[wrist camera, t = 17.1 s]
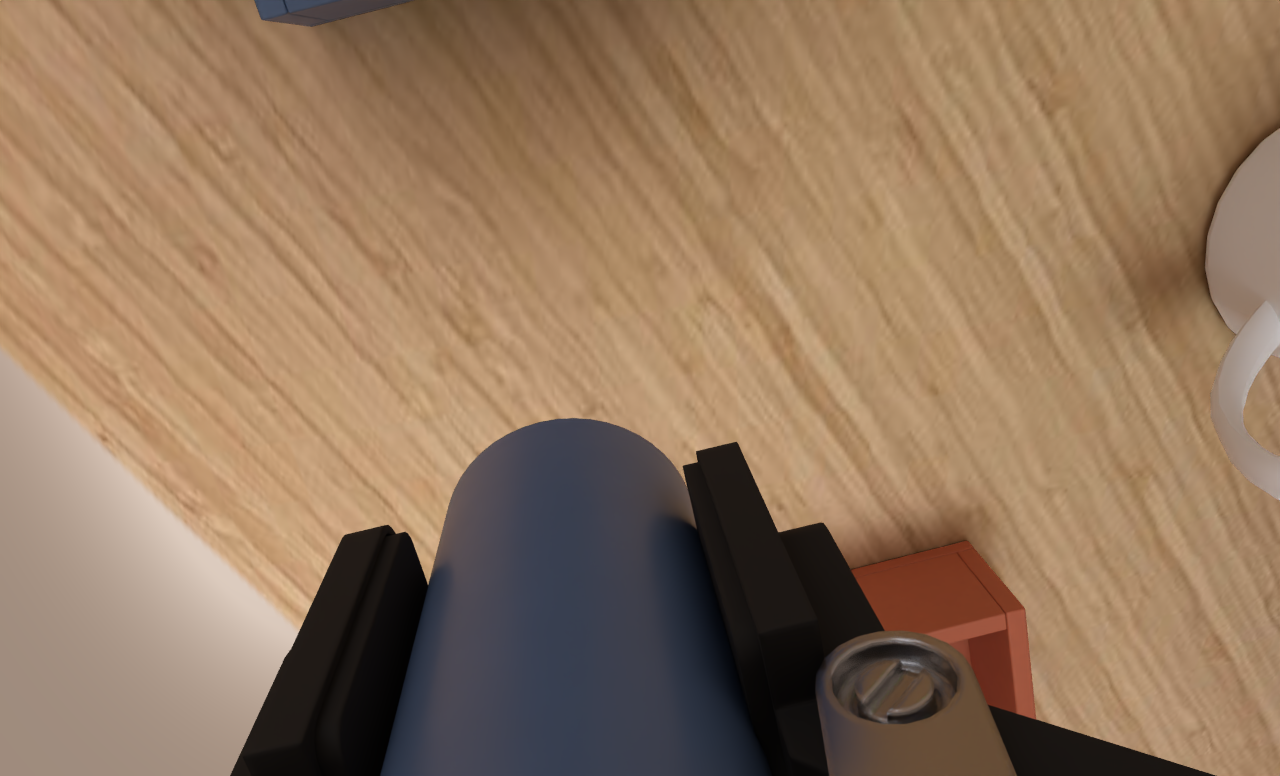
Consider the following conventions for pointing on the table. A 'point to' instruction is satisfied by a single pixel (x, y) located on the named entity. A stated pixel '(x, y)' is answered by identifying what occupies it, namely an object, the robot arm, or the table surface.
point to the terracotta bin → (958, 616)
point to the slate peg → (571, 622)
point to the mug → (1247, 301)
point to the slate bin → (317, 10)
